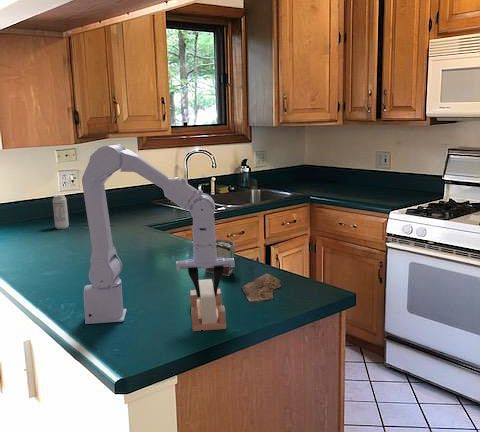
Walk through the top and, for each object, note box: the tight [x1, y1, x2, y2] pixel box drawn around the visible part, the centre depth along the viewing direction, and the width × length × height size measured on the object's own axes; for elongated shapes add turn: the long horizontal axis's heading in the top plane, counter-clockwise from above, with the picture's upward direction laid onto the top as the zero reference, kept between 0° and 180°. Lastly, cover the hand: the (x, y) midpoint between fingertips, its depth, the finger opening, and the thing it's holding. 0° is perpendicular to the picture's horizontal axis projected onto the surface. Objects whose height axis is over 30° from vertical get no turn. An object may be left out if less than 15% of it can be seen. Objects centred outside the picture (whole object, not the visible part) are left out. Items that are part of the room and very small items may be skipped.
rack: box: [189, 288, 227, 332], centre depth 135 cm, size 8×19×4 cm, turn 6°
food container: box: [204, 238, 236, 277], centre depth 172 cm, size 12×6×10 cm, turn 56°
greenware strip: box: [198, 278, 217, 324], centre depth 135 cm, size 4×16×6 cm, turn 7°
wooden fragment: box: [240, 273, 282, 303], centre depth 156 cm, size 26×11×1 cm, turn 164°
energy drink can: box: [52, 194, 70, 230], centre depth 244 cm, size 6×6×15 cm
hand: (206, 295), depth 135 cm, fingers open, 3 cm apart
